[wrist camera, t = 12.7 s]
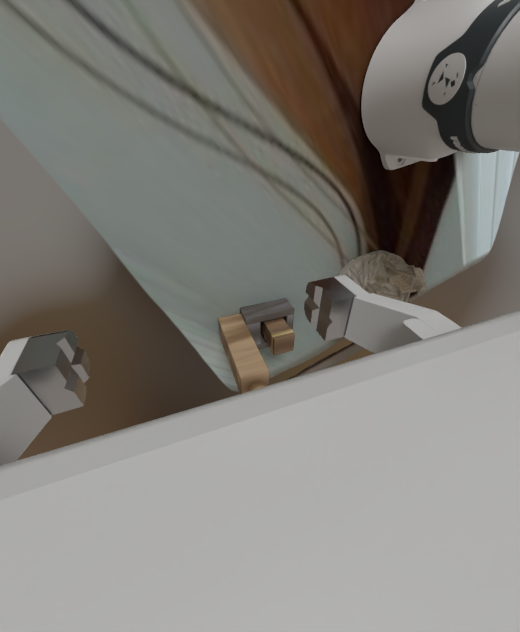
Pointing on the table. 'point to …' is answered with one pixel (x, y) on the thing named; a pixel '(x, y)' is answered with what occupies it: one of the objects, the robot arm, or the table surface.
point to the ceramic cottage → (385, 275)
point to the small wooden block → (278, 335)
